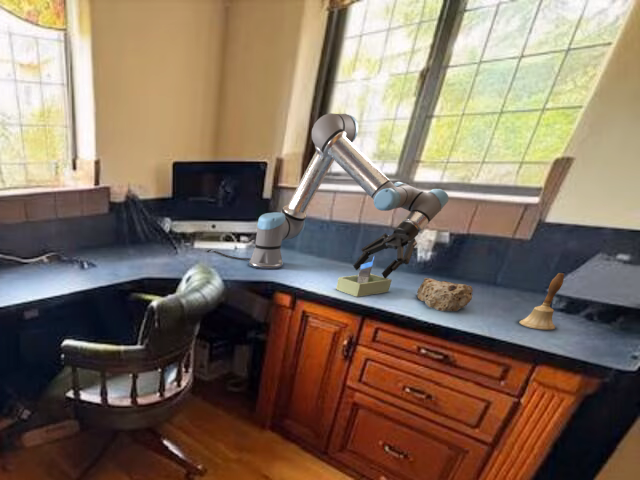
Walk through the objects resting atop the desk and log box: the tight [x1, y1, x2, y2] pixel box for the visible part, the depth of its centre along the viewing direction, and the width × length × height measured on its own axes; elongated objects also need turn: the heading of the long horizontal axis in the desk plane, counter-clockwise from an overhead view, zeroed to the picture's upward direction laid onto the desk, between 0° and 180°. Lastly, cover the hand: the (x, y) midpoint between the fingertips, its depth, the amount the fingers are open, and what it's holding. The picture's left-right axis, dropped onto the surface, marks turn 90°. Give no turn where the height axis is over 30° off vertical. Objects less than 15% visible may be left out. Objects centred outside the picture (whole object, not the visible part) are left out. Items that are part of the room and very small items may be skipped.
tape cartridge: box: [357, 254, 376, 284], centre depth 161 cm, size 9×4×12 cm, turn 152°
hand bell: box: [519, 272, 565, 331], centre depth 125 cm, size 8×8×16 cm
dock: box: [335, 273, 392, 298], centre depth 163 cm, size 11×16×5 cm
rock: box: [416, 277, 474, 312], centre depth 147 cm, size 21×14×10 cm
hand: (368, 271), depth 161 cm, fingers open, 13 cm apart
